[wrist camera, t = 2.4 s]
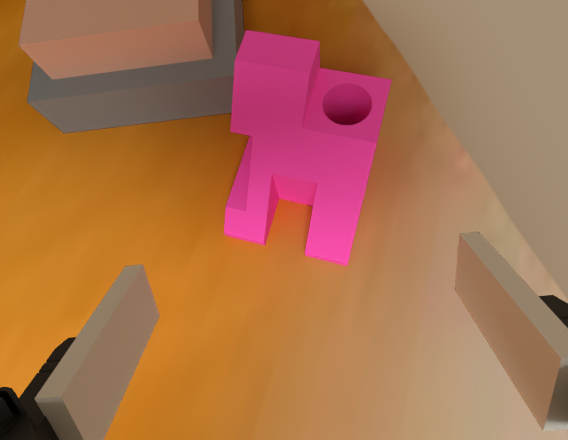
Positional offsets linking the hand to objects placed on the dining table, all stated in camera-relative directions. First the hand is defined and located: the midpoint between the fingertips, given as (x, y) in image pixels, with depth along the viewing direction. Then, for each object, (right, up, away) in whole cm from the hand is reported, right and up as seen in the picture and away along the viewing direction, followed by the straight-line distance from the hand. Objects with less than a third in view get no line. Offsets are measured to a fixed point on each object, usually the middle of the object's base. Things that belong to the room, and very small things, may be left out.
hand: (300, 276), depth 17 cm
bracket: (+1, +5, +18) cm, 18 cm away
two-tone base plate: (-14, +21, +24) cm, 35 cm away
